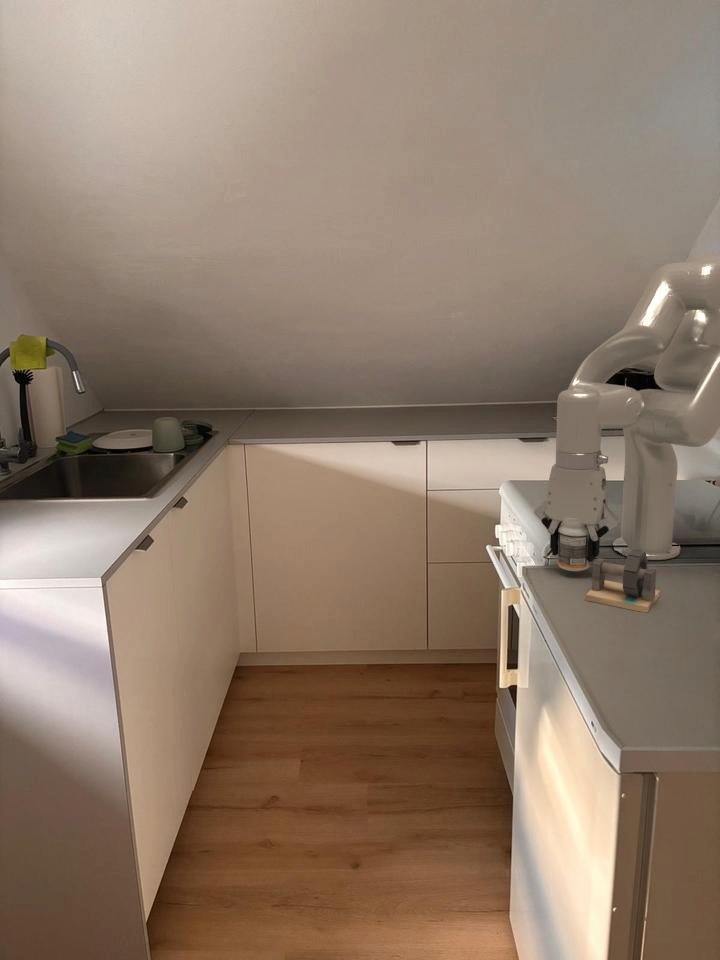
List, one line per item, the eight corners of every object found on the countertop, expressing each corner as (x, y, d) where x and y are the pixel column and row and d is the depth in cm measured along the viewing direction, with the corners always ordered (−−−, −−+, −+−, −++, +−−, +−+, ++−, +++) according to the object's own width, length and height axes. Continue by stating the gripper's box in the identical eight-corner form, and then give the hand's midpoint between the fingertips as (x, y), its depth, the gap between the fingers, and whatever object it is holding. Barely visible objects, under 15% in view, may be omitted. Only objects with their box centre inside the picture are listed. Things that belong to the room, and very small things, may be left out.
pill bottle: (565, 559, 145) (567, 508, 142) (595, 565, 141) (597, 513, 139) (552, 568, 140) (553, 516, 138) (582, 574, 137) (583, 521, 134)
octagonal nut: (633, 584, 131) (636, 546, 130) (645, 587, 130) (648, 548, 128) (621, 599, 126) (624, 558, 124) (634, 601, 125) (636, 560, 123)
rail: (600, 584, 135) (601, 553, 134) (659, 595, 130) (661, 562, 128) (585, 600, 129) (586, 567, 127) (647, 612, 123) (649, 578, 122)
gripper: (633, 460, 134) (628, 558, 138) (539, 451, 144) (536, 543, 148) (620, 469, 128) (615, 571, 132) (523, 459, 138) (521, 554, 142)
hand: (574, 555), depth 140 cm, fingers open, 5 cm apart
